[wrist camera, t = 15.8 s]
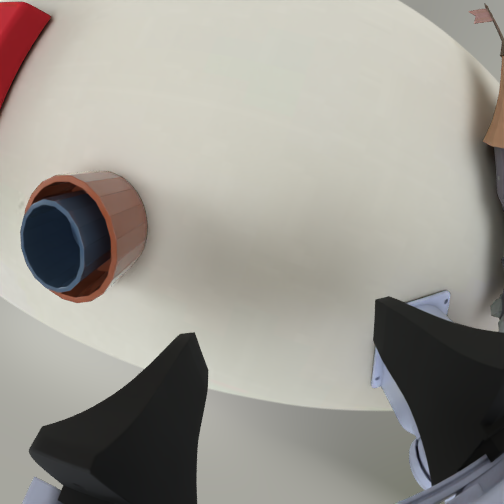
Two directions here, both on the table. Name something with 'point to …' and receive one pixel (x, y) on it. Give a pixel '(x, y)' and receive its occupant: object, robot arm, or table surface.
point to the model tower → (496, 146)
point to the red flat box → (17, 38)
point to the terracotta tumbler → (117, 219)
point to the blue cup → (64, 240)
